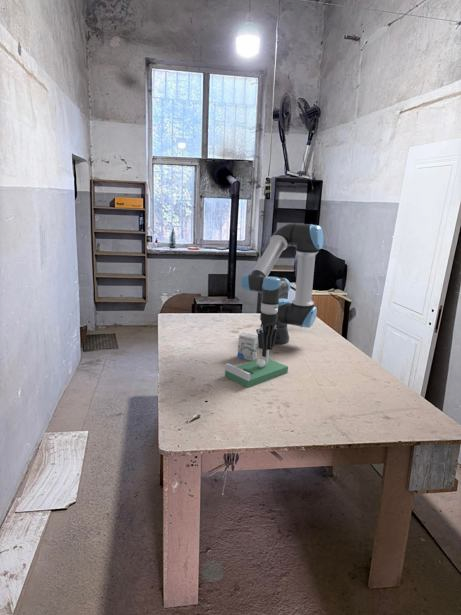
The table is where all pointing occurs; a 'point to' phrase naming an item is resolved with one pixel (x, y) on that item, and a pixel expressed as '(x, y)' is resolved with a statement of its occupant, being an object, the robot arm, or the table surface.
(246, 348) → the ink box
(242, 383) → the putting deck
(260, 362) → the ball
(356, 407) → the table surface
